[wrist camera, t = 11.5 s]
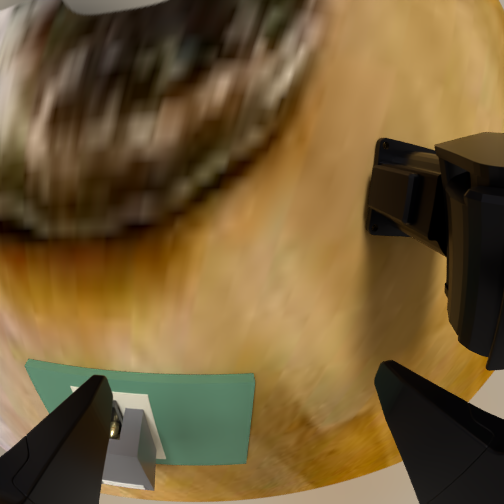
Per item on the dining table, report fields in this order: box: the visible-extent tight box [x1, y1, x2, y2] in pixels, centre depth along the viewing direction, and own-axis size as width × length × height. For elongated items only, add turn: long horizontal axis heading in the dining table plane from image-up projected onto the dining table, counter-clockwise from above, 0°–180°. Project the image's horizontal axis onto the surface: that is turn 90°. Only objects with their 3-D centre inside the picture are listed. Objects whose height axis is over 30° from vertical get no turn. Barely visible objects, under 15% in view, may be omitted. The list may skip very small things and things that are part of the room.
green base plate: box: [25, 359, 255, 465], centre depth 23 cm, size 20×14×1 cm
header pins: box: [109, 400, 123, 440], centre depth 21 cm, size 1×9×2 cm, turn 176°
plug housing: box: [102, 408, 157, 491], centre depth 19 cm, size 6×7×5 cm
